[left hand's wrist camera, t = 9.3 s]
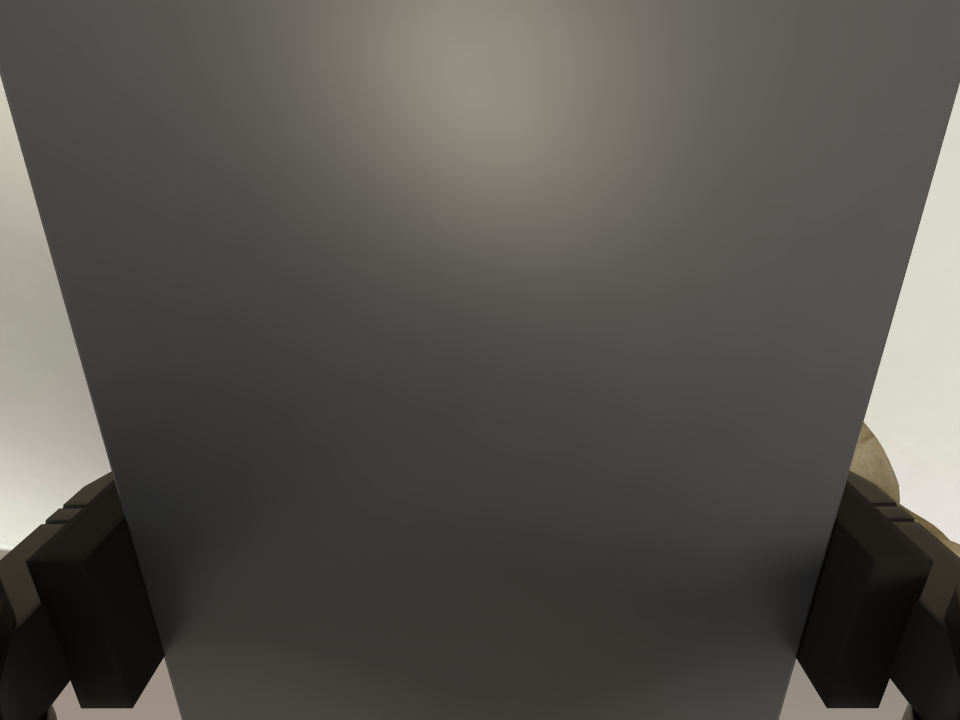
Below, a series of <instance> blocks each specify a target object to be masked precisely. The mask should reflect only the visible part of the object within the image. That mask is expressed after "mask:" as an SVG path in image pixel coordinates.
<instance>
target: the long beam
mask: <svg viewBox="0 0 960 720" xmlns="http://www.w3.org/2000/svg"><path fill="white" fill-rule="evenodd" d="M0 75H1V79H2V82H3V86H4V90H5V93H6V97H7V100H8V104H9V107H10V111H11V114H12V118H13V122H14V125H15V129H16V132H17V136H18V139H19V143H20V146H21V150H22V153H23V157H24V161H25V164H26V168H27V171H28V175H29V178H30V182H31V185H32V189H33V193H34V196H35V200H36V203H37V207H38V210H39V214H40V217H41V221H42V225H43V228H44V232H45V235H46V239H47V242H48V246H49V249H50V253H51V256H52V260H53V264H54V267H55V271H56V274H57V278H58V281H59V285H60V288H61V292H62V296H63V299H64V303H65V306H66V310H67V313H68V317H69V320H70V324H71V328H72V331H73V335H74V338H75V342H76V345H77V349H78V352H79V356H80V360H81V363H82V367H83V370H84V374H85V377H86V381H87V384H88V388H89V391H90V395H91V399H92V402H93V406H94V409H95V413H96V416H97V420H98V423H99V427H100V431H101V434H102V438H103V441H104V445H105V448H106V452H107V455H108V459H109V463H110V466H111V470H112V473H113V477H114V480H115V484H116V487H117V491H118V494H119V498H120V502H121V505H122V509H123V512H124V516H125V519H126V523H127V526H128V530H129V534H130V537H131V541H132V544H133V548H134V551H135V555H136V558H137V562H138V566H139V569H140V573H141V576H142V580H143V583H144V587H145V590H146V594H147V597H148V601H149V605H150V608H151V612H152V615H153V619H154V622H155V626H156V629H157V633H158V637H159V640H160V644H161V647H162V651H163V654H164V658H165V661H166V665H167V668H168V672H169V676H170V679H171V683H172V686H173V690H174V693H175V697H176V700H177V704H178V707H179V711H180V715H181V718H182V720H779V716H780V713H781V709H782V706H783V702H784V699H785V695H786V692H787V688H788V685H789V681H790V678H791V674H792V671H793V667H794V664H795V660H796V657H797V653H798V650H799V646H800V643H801V639H802V635H803V632H804V628H805V625H806V621H807V618H808V614H809V611H810V607H811V604H812V600H813V597H814V593H815V590H816V586H817V583H818V579H819V576H820V572H821V569H822V565H823V562H824V558H825V555H826V551H827V548H828V544H829V541H830V537H831V533H832V530H833V526H834V523H835V519H836V516H837V512H838V509H839V505H840V502H841V498H842V495H843V491H844V488H845V484H846V481H847V477H848V474H849V470H850V467H851V463H852V460H853V456H854V453H855V449H856V446H857V442H858V438H859V435H860V431H861V428H862V424H863V421H864V417H865V414H866V410H867V407H868V403H869V400H870V396H871V393H872V389H873V386H874V382H875V379H876V375H877V372H878V368H879V365H880V361H881V358H882V354H883V351H884V347H885V344H886V340H887V336H888V333H889V329H890V326H891V322H892V319H893V315H894V312H895V308H896V305H897V301H898V298H899V294H900V291H901V287H902V284H903V280H904V277H905V273H906V270H907V266H908V263H909V259H910V256H911V252H912V249H913V245H914V241H915V238H916V234H917V231H918V227H919V224H920V220H921V217H922V213H923V210H924V206H925V203H926V199H927V196H928V192H929V189H930V185H931V182H932V178H933V175H934V171H935V168H936V164H937V161H938V157H939V154H940V150H941V146H942V143H943V139H944V136H945V132H946V129H947V125H948V122H949V118H950V115H951V111H952V108H953V104H954V101H955V97H956V94H957V90H958V87H959V83H960V0H0Z"/></svg>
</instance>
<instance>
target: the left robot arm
mask: <svg viewBox="0 0 960 720" xmlns="http://www.w3.org/2000/svg"><path fill="white" fill-rule="evenodd" d="M63 506H64V507H63V509H58V510H57V511H56V512H55V513H54V514H52V515H51V516H50V517H49V518H48V519H47V520H46V523H45V524H41V525H40V526H39V527H38V528H37V529H35V530H34V531H33V532H32V533H31V534H30V535H29V536H27V537H26V538H25V539H24V540H23V541H22V542H21V543H19V544H18V545H17V546H16V547H15V548H14V549H13V550H11V551H10V552H9V553H8V554H7V555H6V556H5V557H3V558H2V559H1V560H0V720H57V717H56V713H55V711H54V708H53V706H52V704H53V702H54V701H55V700H56V698H57V697H58V696H59V694H60V693H61V692H62V690H63V689H64V688H65V687H66V685H67V684H68V683H69V681H70V680H71V683H72V685H73V688H74V691H75V693H76V696H77V698H78V701H79V704H80V706H81V708H133V707H134V705H135V703H136V702H137V700H138V699H139V697H140V695H141V694H142V692H143V690H144V689H145V687H146V685H147V684H148V682H149V680H150V679H151V677H152V676H153V674H154V672H155V671H156V669H157V667H158V666H159V664H160V662H161V661H162V659H163V658H164V654H163V651H162V647H161V644H160V640H159V637H158V633H157V629H156V626H155V622H154V619H153V615H152V612H151V608H150V605H149V601H148V597H147V594H146V590H145V587H144V583H143V580H142V576H141V573H140V569H139V566H138V562H137V558H136V555H135V551H134V548H133V544H132V541H131V537H130V534H129V530H128V526H127V523H126V519H125V516H124V512H123V509H122V505H121V502H120V498H119V494H118V491H117V487H116V484H115V480H114V477H113V473H112V472H110V473H108V474H106V475H104V476H103V477H101V478H99V479H97V480H95V481H93V482H92V483H90V484H88V485H86V486H84V487H83V488H82V489H81V490H80V491H79V492H78V493H76V494H75V495H74V496H73V497H72V498H71V499H70V500H68V501H67V502H66V503H65V504H64V505H63ZM796 658H797V660H798V661H799V663H800V665H801V666H802V668H803V670H804V671H805V673H806V675H807V676H808V678H809V679H810V681H811V683H812V684H813V686H814V688H815V689H816V691H817V693H818V694H819V696H820V697H821V699H822V701H823V702H824V704H825V706H826V707H827V708H879V705H880V702H881V700H882V697H883V694H884V692H885V689H886V687H887V684H888V681H889V679H891V680H892V681H893V683H894V684H895V685H896V687H897V688H898V689H899V690H900V692H901V693H902V694H903V696H904V697H905V698H906V700H907V701H908V702H909V703H908V706H907V708H906V711H905V713H904V715H903V718H902V720H960V557H958V556H957V555H956V554H955V553H954V552H953V551H952V550H950V549H949V548H948V547H947V546H946V545H945V544H943V543H942V542H941V541H940V540H939V539H938V538H937V537H935V536H934V535H933V534H932V533H931V532H930V531H929V530H927V529H926V528H925V527H924V526H923V525H922V524H921V523H919V522H915V520H914V517H913V516H911V515H910V514H909V513H908V512H907V511H906V510H904V509H903V508H902V507H901V506H897V503H896V502H895V501H894V500H893V499H892V498H891V497H890V496H888V495H887V494H886V493H885V492H884V491H883V490H882V489H880V488H879V487H878V486H877V485H876V484H874V483H872V482H870V481H868V480H867V479H865V478H863V477H861V476H859V475H857V474H856V473H854V472H852V471H850V470H849V474H848V477H847V481H846V484H845V488H844V491H843V495H842V498H841V502H840V505H839V509H838V512H837V516H836V519H835V523H834V526H833V530H832V533H831V537H830V541H829V544H828V548H827V551H826V555H825V558H824V562H823V565H822V569H821V572H820V576H819V579H818V583H817V586H816V590H815V593H814V597H813V600H812V604H811V607H810V611H809V614H808V618H807V621H806V625H805V628H804V632H803V635H802V639H801V643H800V646H799V650H798V653H797V657H796Z"/></svg>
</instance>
